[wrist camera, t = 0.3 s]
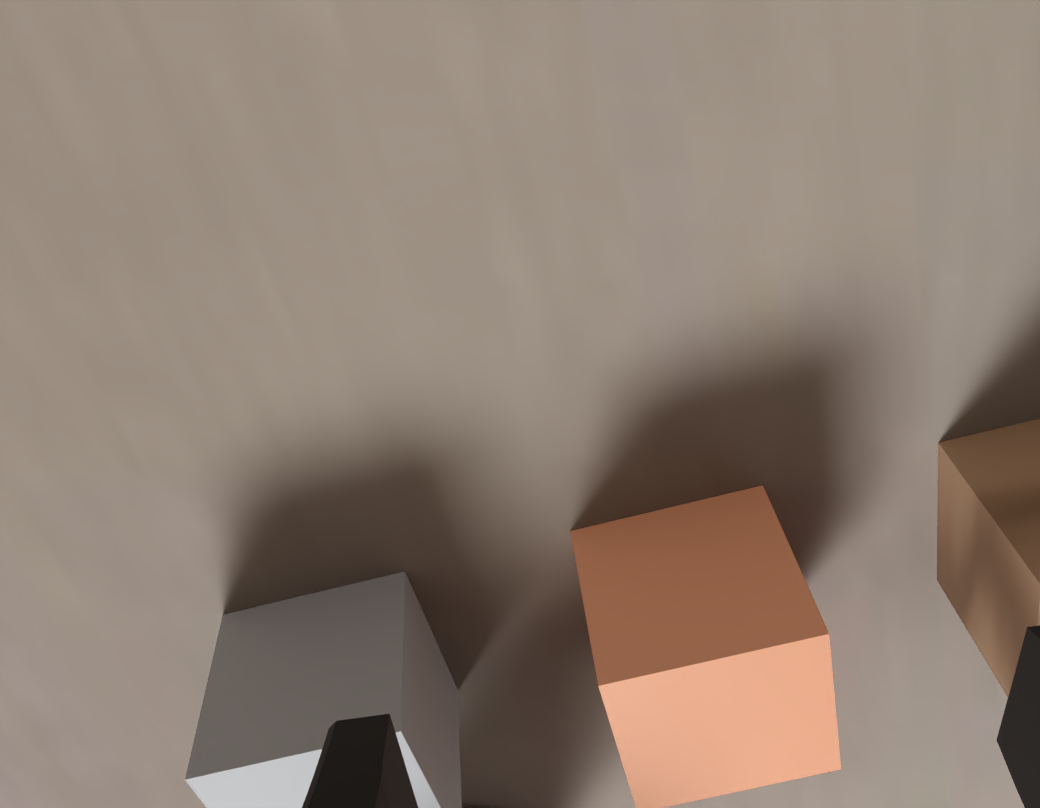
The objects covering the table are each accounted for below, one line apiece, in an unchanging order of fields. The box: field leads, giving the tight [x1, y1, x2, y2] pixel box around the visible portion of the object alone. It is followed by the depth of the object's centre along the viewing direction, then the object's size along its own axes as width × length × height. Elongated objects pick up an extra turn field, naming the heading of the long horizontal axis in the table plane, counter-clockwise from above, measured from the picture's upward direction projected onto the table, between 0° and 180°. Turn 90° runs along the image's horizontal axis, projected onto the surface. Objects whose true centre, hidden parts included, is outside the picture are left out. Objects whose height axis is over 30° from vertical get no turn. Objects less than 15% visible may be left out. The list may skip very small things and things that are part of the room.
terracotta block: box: [570, 485, 841, 808], centre depth 22 cm, size 4×4×4 cm
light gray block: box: [185, 571, 462, 808], centre depth 22 cm, size 4×4×4 cm
